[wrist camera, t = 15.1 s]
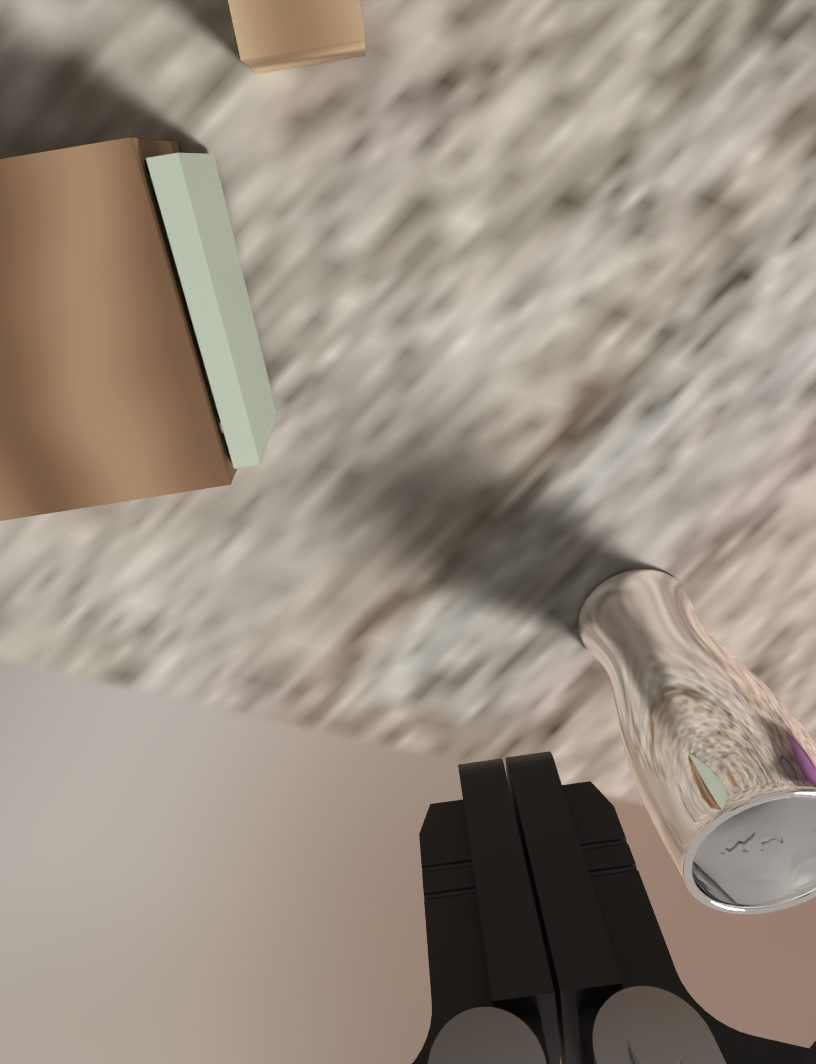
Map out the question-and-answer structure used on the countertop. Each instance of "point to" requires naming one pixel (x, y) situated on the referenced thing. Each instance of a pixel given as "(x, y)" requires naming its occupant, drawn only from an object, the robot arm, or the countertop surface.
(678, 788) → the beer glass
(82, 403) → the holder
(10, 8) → the countertop surface
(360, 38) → the oak block
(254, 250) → the countertop surface
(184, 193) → the tray
